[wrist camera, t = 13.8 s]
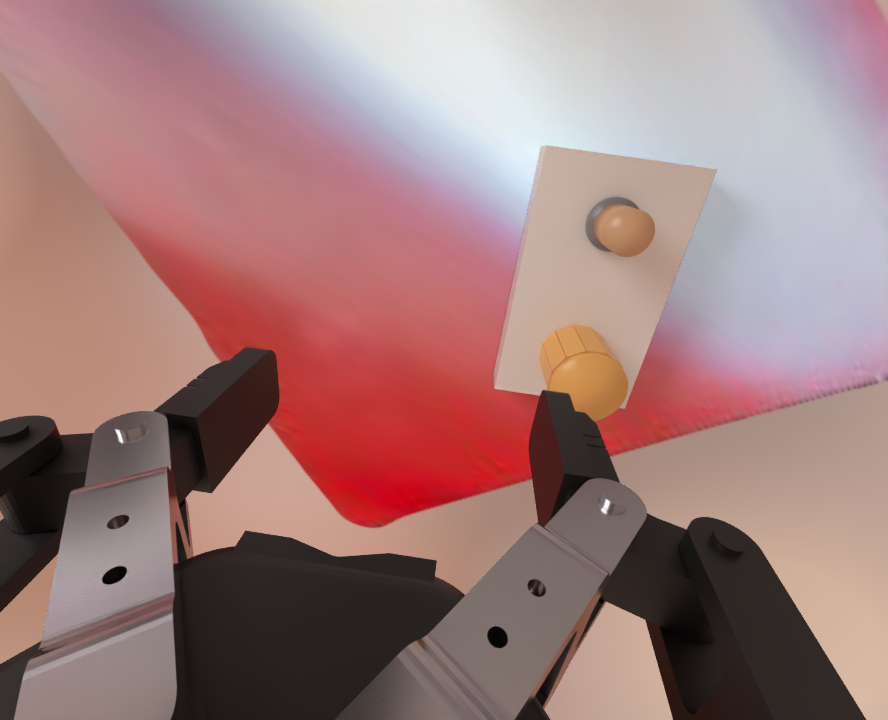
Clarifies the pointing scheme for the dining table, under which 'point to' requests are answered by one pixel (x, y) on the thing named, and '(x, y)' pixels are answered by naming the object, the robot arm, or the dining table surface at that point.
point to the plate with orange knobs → (597, 256)
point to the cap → (584, 370)
